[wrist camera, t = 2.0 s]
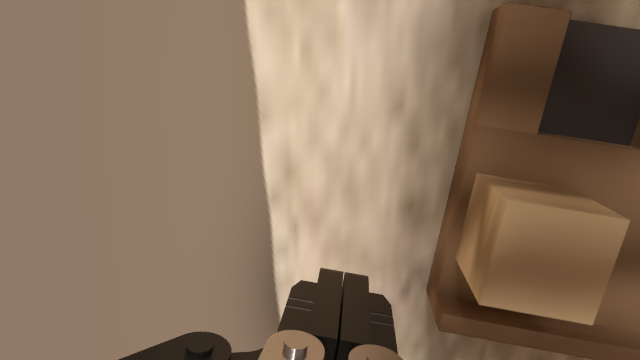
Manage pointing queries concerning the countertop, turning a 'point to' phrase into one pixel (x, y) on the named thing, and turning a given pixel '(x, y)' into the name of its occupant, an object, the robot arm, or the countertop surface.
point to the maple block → (538, 248)
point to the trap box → (551, 166)
